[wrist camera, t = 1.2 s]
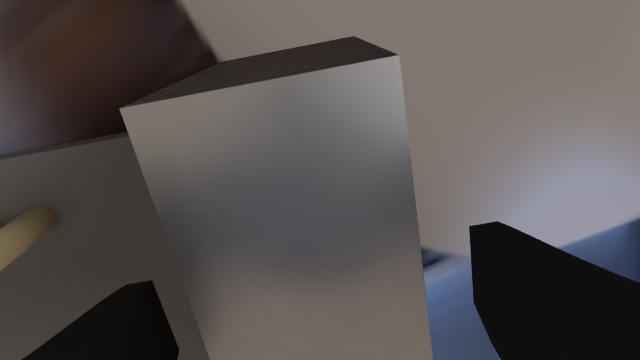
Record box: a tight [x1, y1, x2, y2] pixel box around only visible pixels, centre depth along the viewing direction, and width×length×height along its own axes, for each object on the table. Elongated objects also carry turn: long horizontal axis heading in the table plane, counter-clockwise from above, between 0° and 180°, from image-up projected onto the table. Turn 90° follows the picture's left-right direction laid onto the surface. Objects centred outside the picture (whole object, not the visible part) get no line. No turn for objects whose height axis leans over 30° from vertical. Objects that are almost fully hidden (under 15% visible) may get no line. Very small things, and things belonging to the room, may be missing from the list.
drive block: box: [119, 36, 433, 360], centre depth 11 cm, size 4×10×7 cm, turn 11°
